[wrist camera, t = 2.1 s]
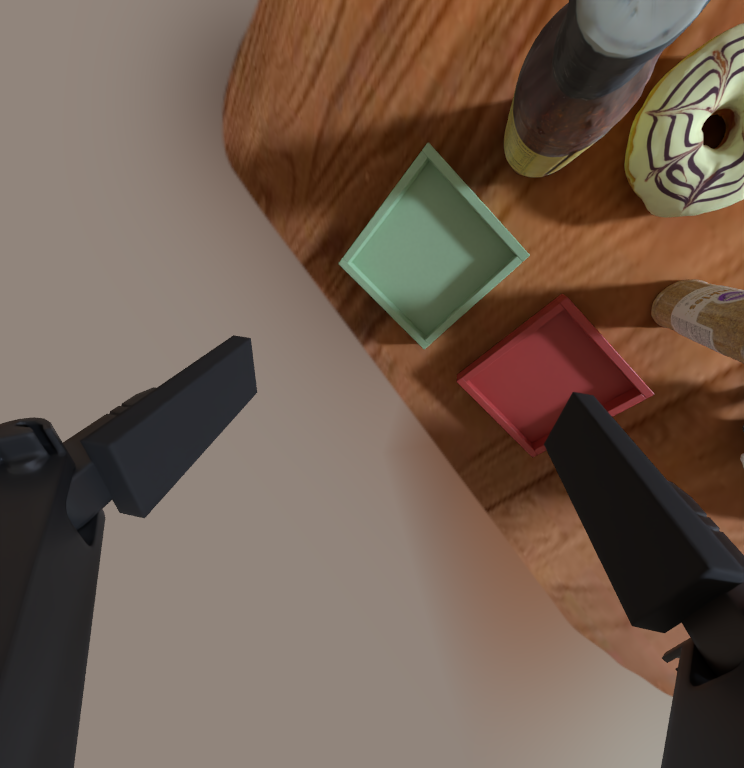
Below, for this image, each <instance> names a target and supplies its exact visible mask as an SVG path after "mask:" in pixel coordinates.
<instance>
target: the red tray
mask: <svg viewBox="0 0 744 768" xmlns="http://www.w3.org/2000/svg"><path fill="white" fill-rule="evenodd" d="M457 383H458V384H459V385H460V386H461V387H462V388H463V389H464V390H465V391H466V392H467V393H468V394H469V395H470V396H471V397H472V398H473V399H474V400H475V401H476V402H477V403H478V404H479V405H480V406H481V407H482V408H483V409H484V410H485V411H486V412H487V413H488V414H489V415H490V416H491V417H492V418H493V419H494V420H495V421H496V422H497V423H498V424H499V425H500V426H501V427H502V428H503V429H504V430H505V431H506V432H507V433H508V434H509V435H510V436H511V437H512V438H513V439H514V440H515V441H516V442H517V443H518V444H519V445H520V446H521V447H522V448H523V449H524V450H525V451H526V452H527V453H528V454H529V455H530V456H531V457H534V456H536V455H538V454H540V453H542V452H544V451H546V448H545V446H544V443H545V441H546V439H547V438H548V436H549V434H550V432H551V430H552V429H553V427H554V425H555V423H556V421H557V419H558V418H559V416H560V414H561V412H562V410H563V409H564V407H565V405H566V403H567V401H568V400H569V398H570V396H571V394H572V392H577V393H583V394H589V395H594V397H595V398H596V399H597V400H598V401H599V402H600V404H601V405H602V406H603V407H604V408H605V409H606V410H607V412H608V413H609V414H610V415H611V416H614V415H616V414H618V413H620V412H622V411H624V410H626V409H628V408H630V407H632V406H634V405H636V404H638V403H640V402H641V401H643V400H645V399H646V398H649V397H651V396H653V395H654V393H653V392H652V390H651V389H650V388H649V387H648V386H647V385H646V384H645V383H644V382H643V380H642V379H641V378H640V377H639V376H638V375H637V374H636V373H635V372H634V370H633V369H632V368H631V367H630V366H629V365H628V364H627V363H626V362H625V360H624V359H623V358H622V357H621V356H620V355H619V354H618V353H617V352H616V350H615V349H614V348H613V347H612V346H611V345H610V344H609V343H608V342H607V340H606V339H605V338H604V337H603V336H602V335H601V334H600V333H599V331H598V330H597V329H596V328H595V327H594V326H593V325H592V324H591V323H590V321H589V320H588V319H587V318H586V317H585V316H584V315H583V314H582V313H581V311H580V310H579V309H578V308H577V307H576V306H575V305H574V304H573V303H572V301H571V300H570V299H569V298H568V297H566V296H565V295H563V294H561V295H559V296H558V297H557V298H555V299H554V300H553V301H552V302H550V303H549V304H548V305H546V306H545V307H544V308H543V309H541V310H540V311H539V312H537V313H536V314H535V315H533V316H532V317H531V318H530V319H528V320H527V321H526V322H524V323H523V324H522V325H521V326H519V327H518V328H517V329H515V330H514V331H513V332H512V333H510V334H509V335H508V336H506V337H505V338H504V339H502V340H501V341H500V342H499V343H497V344H496V345H495V346H493V347H492V348H491V349H490V350H488V351H487V352H486V353H484V354H483V355H482V356H480V357H479V358H478V359H477V360H475V361H474V362H473V363H471V364H470V365H469V366H468V367H466V368H465V369H464V370H462V371H461V372H460V373H459V374H457Z"/></svg>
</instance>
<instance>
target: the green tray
mask: <svg viewBox="0 0 744 768" xmlns="http://www.w3.org/2000/svg"><path fill="white" fill-rule="evenodd" d="M529 256H530V255H529V254H528V252H527V251H526V250H525V249H524V248H523V247H522V246H521V245H520V244H519V242H518V241H517V240H516V239H515V238H514V237H513V236H512V235H511V234H510V232H509V231H508V230H507V229H506V228H505V227H504V226H503V225H502V223H501V222H500V221H499V220H498V219H497V218H496V217H495V216H494V215H493V213H492V212H491V211H490V210H489V209H488V208H487V207H486V206H485V205H484V203H483V202H482V201H481V200H480V199H479V198H478V197H477V196H476V195H475V193H474V192H473V191H472V190H471V189H470V188H469V187H468V186H467V185H466V183H465V182H464V181H463V180H462V179H461V178H460V177H459V176H458V175H457V173H456V172H455V171H454V170H453V169H452V168H451V167H450V166H449V164H448V163H447V162H446V161H445V160H444V159H443V158H442V157H441V156H440V154H439V153H438V152H437V151H436V150H435V149H434V148H433V147H432V146H431V144H430V143H429V142H428V143H427V144H426V146H425V147H424V148H423V150H422V151H421V152H420V154H419V155H418V156H417V158H416V159H415V160H414V162H413V163H412V164H411V166H410V167H409V169H408V170H407V171H406V173H405V174H404V175H403V177H402V178H401V179H400V181H399V182H398V183H397V185H396V186H395V188H394V189H393V190H392V192H391V193H390V194H389V196H388V197H387V198H386V200H385V201H384V202H383V204H382V205H381V206H380V208H379V209H378V211H377V212H376V213H375V215H374V216H373V217H372V219H371V220H370V221H369V223H368V224H367V225H366V227H365V228H364V229H363V231H362V232H361V234H360V235H359V236H358V238H357V239H356V240H355V242H354V243H353V244H352V246H351V247H350V248H349V250H348V251H347V252H346V254H345V255H344V257H343V258H342V259H341V261H340V262H339V263H338V264H339V265H340V266H341V267H342V268H343V269H344V270H345V271H346V272H347V273H348V274H349V275H350V276H351V277H352V278H353V279H354V280H355V281H356V282H357V283H358V284H359V285H360V286H361V287H362V288H363V289H364V290H365V291H366V292H367V293H368V294H369V295H370V296H371V297H372V298H373V299H374V300H375V301H376V302H377V303H378V304H379V305H380V306H381V307H382V308H383V309H384V310H385V311H386V312H387V313H388V314H389V315H390V316H391V317H392V318H393V319H394V320H395V321H396V322H397V323H398V324H399V325H400V326H401V327H402V328H403V329H404V330H405V331H406V332H407V333H408V334H409V335H410V336H411V337H412V338H413V339H414V340H415V341H416V342H417V343H418V344H419V345H420V346H421V347H422V348H423V349H425V348H427V347H428V346H429V345H430V344H431V343H432V342H433V341H434V340H435V339H437V338H438V337H439V336H440V335H441V334H442V333H443V332H444V331H446V330H447V329H448V328H449V327H450V326H451V325H452V324H453V323H455V322H456V321H457V320H458V319H459V318H460V317H461V316H462V315H464V314H465V313H466V312H467V311H468V310H469V309H470V308H471V307H473V306H474V305H475V304H476V303H477V302H478V301H479V300H480V299H482V298H483V297H484V296H485V295H486V294H487V293H488V292H489V291H491V290H492V289H493V288H494V287H495V286H496V285H497V284H498V283H500V282H501V281H502V280H503V279H504V278H505V277H506V276H507V275H509V274H510V273H511V272H512V271H513V270H514V269H515V268H516V267H518V266H519V265H520V264H521V263H522V262H523V261H524V260H525V259H527V258H528V257H529Z"/></svg>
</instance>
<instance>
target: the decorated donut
mask: <svg viewBox="0 0 744 768" xmlns="http://www.w3.org/2000/svg"><path fill="white" fill-rule="evenodd" d="M715 114H718V115H719V116H722V117H723V119H724V121H725V123H726V130H725V131H726V132H725V137H724V138H723V140H722V142H721V144H720V145H718V147H715V149H712V148H710V147H709V146H707V145H703V132H702V130H701V128H702V126H703V124H704V122H705V121H706V120H707V118H708V117H709V116H712V115H715ZM624 167H625V173H626V177H627V180H628V182H629V184H630V185H631V187H632V189H633V191H634V192H635V193H636V195H637V196H638V197H640V198H641V199H642V200H643V202H644V204H645V206H646V208H647V210H648V211H649V212H650V213H651V214H653V215H655V216H659V217H679V216H694V215H699V214H701V213H706V212H710V211H714V210H718V209H721V208H724V207H727V206H730V205H732V204H734V203H736V202H738V201H741V200H743V199H744V23H743V24H740V25H738V26H736V27H734V28H731V29H729V30H727V31H725V32H723V33H722V34H720V35H718V36H716V37H714V38H713V39H711V40H710V41H708V42H707V43H705V44H704V45H703V46H701V47H700V48H698V49H696V50H695V51H693V52H692V53H690V54H689V55H688V56H686V57H685V58H684V59H683V60H682V61H681V62H679V63H678V64H677V65H676V66H675V67H674V68H673V69H671V70H670V71H669V72H668V73H666V74H665V75H664V77H663V78H662V79H661V80H660V81H659V82H658V83H657V84H656V85H655V86H654V88H653V89H652V90H651V92H650V93H649V95H648V97H647V99H646V100H645V102H644V104H643V106H642V108H641V109H640V110H639V112H638V113H637V114H636V117H635V119H634V121H633V124H632V127H631V130H630V134H629V139H628V144H627V149H626V152H625V162H624Z"/></svg>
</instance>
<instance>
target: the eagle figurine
mask: <svg viewBox="0 0 744 768" xmlns="http://www.w3.org/2000/svg"><path fill="white" fill-rule="evenodd" d="M742 428H743V432H744V426H742ZM740 457H741V458H740V459H741V462H742V465H743V468H744V453H743V454H741V456H740Z"/></svg>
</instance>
